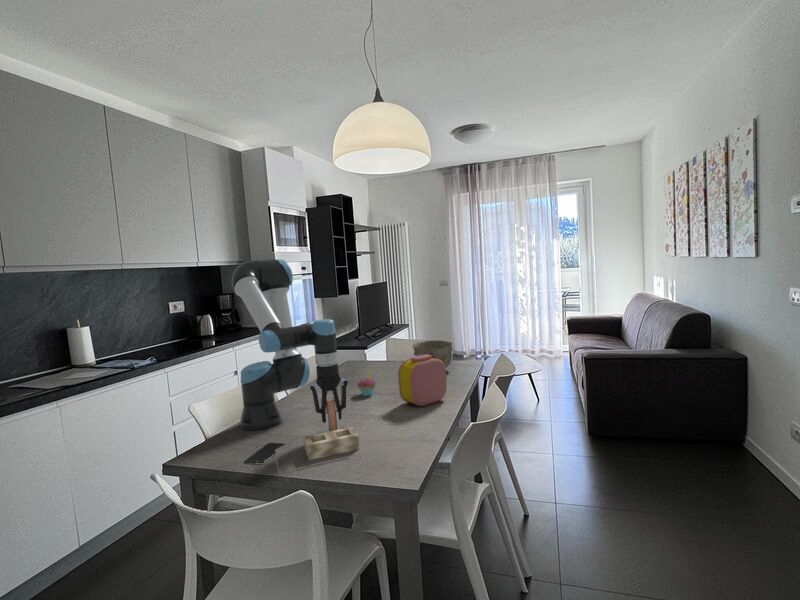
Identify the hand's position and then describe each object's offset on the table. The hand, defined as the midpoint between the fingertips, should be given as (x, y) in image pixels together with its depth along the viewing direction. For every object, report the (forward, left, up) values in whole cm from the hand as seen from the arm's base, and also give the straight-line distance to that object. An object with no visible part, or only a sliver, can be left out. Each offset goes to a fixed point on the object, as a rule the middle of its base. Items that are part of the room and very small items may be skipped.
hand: (332, 429), depth 152 cm
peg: (0, 0, -2) cm, 2 cm away
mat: (0, 0, -2) cm, 2 cm away
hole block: (-3, -13, -2) cm, 13 cm away
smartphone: (-23, -4, -3) cm, 23 cm away
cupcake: (+24, +40, -2) cm, 47 cm away
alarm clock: (+42, +16, -2) cm, 45 cm away
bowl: (+67, +60, -2) cm, 90 cm away
